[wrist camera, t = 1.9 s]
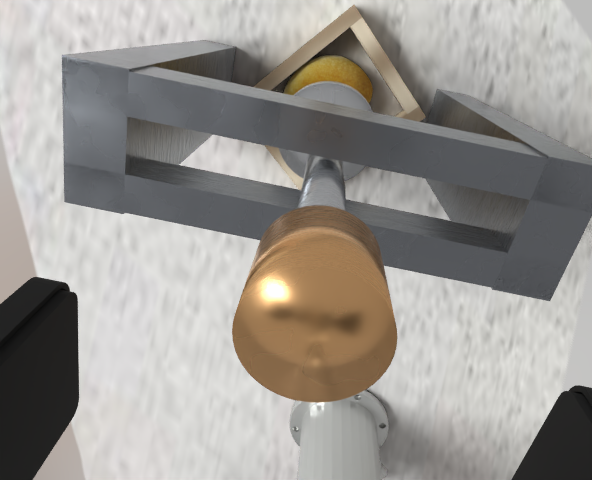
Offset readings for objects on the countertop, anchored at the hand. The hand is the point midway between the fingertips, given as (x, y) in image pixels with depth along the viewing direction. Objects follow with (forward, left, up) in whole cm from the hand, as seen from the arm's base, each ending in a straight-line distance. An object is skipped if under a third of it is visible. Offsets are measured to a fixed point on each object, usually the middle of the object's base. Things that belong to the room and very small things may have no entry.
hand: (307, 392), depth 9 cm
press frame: (0, 0, -39) cm, 39 cm away
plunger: (0, 0, -27) cm, 27 cm away
